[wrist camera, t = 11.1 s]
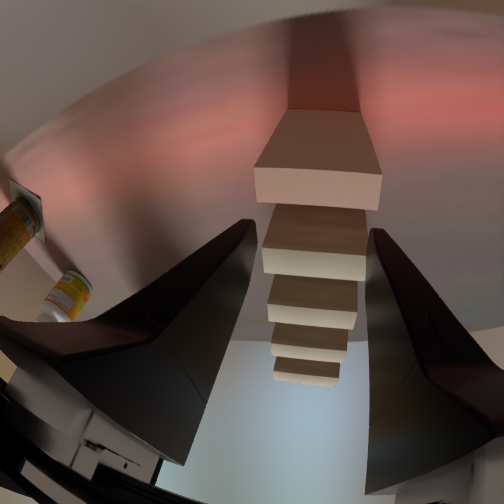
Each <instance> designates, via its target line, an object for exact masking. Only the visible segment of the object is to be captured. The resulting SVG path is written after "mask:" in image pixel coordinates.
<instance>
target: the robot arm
mask: <svg viewBox="0 0 504 504" xmlns="http://www.w3.org/2000/svg"><path fill="white" fill-rule="evenodd" d="M256 250H257V232H256V223H255V221H254V220H253V219H241V220H239V221H238V222H237V223H235V224H234V225H232V226H231V227H229V228H228V229H226V230H225V231H224V232H222V233H221V234H219V235H218V236H216V237H215V238H214V239H212V240H211V241H209V242H208V243H206V244H205V245H204V246H202V247H201V248H199V249H198V250H196V251H195V252H194V253H192V254H191V255H189V256H188V257H187V258H185V259H184V260H182V261H181V262H180V263H178V264H177V265H175V266H174V267H173V268H171V269H170V270H169V271H168V272H166V273H164V274H163V275H162V276H160V277H159V278H157V279H156V280H155V281H153V282H152V283H150V284H149V285H147V286H146V287H144V288H143V289H141V290H140V291H138V292H137V293H135V294H133V295H132V296H130V297H129V298H127V299H125V300H124V301H122V302H121V303H119V304H117V305H116V306H114V307H112V308H111V309H109V310H108V311H106V312H104V313H103V314H101V315H99V316H98V317H95V318H93V319H90V320H87V321H81V322H21V321H14V320H11V319H9V318H7V317H4V316H0V350H1V351H2V352H3V353H4V354H5V355H6V356H7V357H8V358H9V359H10V360H11V361H12V362H13V363H14V364H15V365H16V366H17V368H16V370H15V372H14V374H13V375H12V377H11V379H10V380H9V382H8V384H7V383H6V382H5V381H4V380H3V379H2V378H1V377H0V486H1V487H3V488H6V489H8V490H11V491H14V492H16V493H19V494H22V495H25V496H28V497H31V498H33V499H34V500H35V501H36V502H38V503H39V504H206V503H203V502H200V501H196V500H193V499H190V498H187V497H184V496H181V495H178V494H175V493H172V492H170V491H167V490H164V489H162V488H159V487H157V486H155V483H156V481H157V478H158V475H159V472H160V469H161V466H162V463H163V460H166V461H169V462H172V463H175V464H178V465H181V466H184V465H185V462H186V460H187V457H188V454H189V452H190V449H191V446H192V443H193V441H194V438H195V435H196V432H197V429H198V427H199V424H200V421H201V419H202V416H203V413H204V410H205V408H206V404H207V402H208V399H209V396H210V393H211V391H212V388H213V385H214V382H215V380H216V377H217V374H218V371H219V369H220V366H221V363H222V360H223V357H224V355H225V352H226V349H227V346H228V344H229V341H230V338H231V335H232V332H233V330H234V327H235V324H236V321H237V318H238V315H239V313H240V310H241V307H242V304H243V301H244V299H245V296H246V293H247V290H248V287H249V282H250V278H251V273H252V268H253V264H254V259H255V254H256ZM438 297H439V295H438V294H437V292H436V291H435V290H434V289H433V287H432V286H431V285H430V283H429V282H428V281H427V280H426V278H425V277H424V276H423V275H422V273H421V272H420V271H419V270H418V268H417V267H416V266H415V265H414V264H413V262H412V261H411V260H410V259H409V258H408V256H407V255H406V254H405V253H404V252H403V251H402V249H401V248H400V247H399V246H398V245H397V244H396V242H395V241H394V240H393V239H392V238H391V237H390V236H389V235H388V233H387V232H386V231H385V230H384V229H381V228H371V229H370V232H369V238H368V244H367V249H366V283H365V302H366V315H367V330H368V347H369V381H370V382H369V383H370V411H369V412H370V413H369V443H368V460H367V474H366V485H365V495H394V494H396V496H395V503H394V504H504V370H502V369H501V368H499V367H498V366H497V365H496V364H495V363H494V362H493V361H492V360H491V359H490V358H489V357H488V355H487V354H486V353H485V352H484V351H483V349H482V348H481V347H480V346H479V344H478V343H477V342H476V341H475V340H474V339H473V337H472V336H471V335H470V334H469V333H468V331H467V330H466V329H465V328H464V327H463V325H462V324H461V323H460V322H459V321H458V319H457V318H456V317H455V316H454V314H453V313H452V312H451V311H450V309H449V308H448V307H447V305H446V304H445V303H444V301H443V300H442V299H441V298H440V297H439V298H438Z"/></svg>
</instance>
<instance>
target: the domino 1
mask: <svg viewBox="0 0 504 504" xmlns="http://www.w3.org/2000/svg"><path fill="white" fill-rule="evenodd" d="M254 177H255V187H256V197H257V202H264V203H283V204H300V205H316V206H329V207H342V208H355V209H366V210H377V211H378V204H379V198H380V191H381V183H382V172H381V168H380V165H379V162H378V159H377V156H376V153H375V150H374V147H373V144H372V141H371V139H370V136H369V133H368V130H367V128H366V125H365V122H364V120H363V117H362V114H361V112H349V111H333V110H311V109H287V110H286V112H285V114H284V116H283V117H282V119H281V121H280V122H279V124H278V126H277V127H276V129H275V131H274V133H273V134H272V136H271V138H270V140H269V141H268V143H267V145H266V146H265V148H264V150H263V152H262V153H261V155H260V157H259V159H258V161H257V162H256V164H255V166H254Z"/></svg>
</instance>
